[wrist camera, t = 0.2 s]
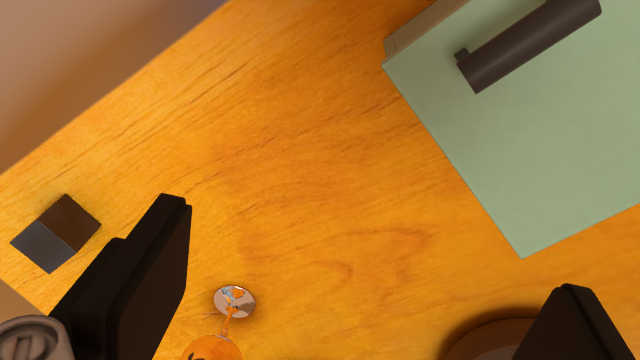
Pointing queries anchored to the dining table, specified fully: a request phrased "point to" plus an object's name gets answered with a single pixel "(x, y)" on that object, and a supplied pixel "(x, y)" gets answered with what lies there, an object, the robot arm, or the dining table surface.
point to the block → (56, 234)
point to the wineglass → (217, 350)
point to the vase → (491, 341)
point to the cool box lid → (533, 109)
